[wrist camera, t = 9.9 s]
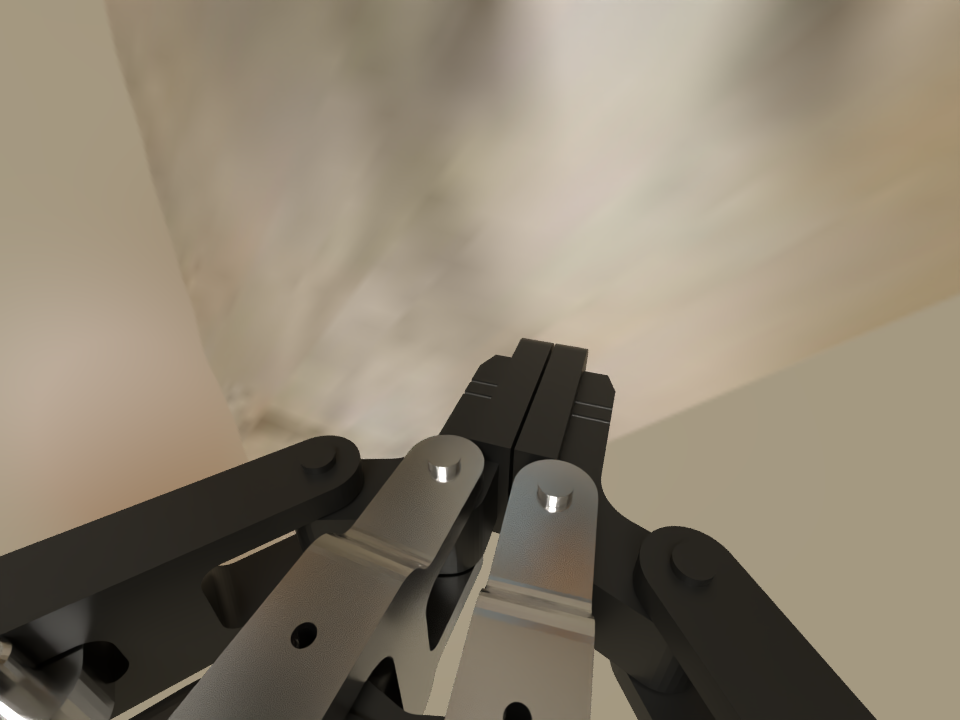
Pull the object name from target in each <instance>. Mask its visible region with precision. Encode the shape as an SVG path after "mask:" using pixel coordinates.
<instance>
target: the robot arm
mask: <svg viewBox="0 0 960 720" xmlns="http://www.w3.org/2000/svg"><path fill="white" fill-rule="evenodd" d="M587 357H588V349H584V348H578V347H573V346H567V345H561V344H555V346H554V343H549V342H543V341H538V340H532V339H526V338H522V339H521V340H520V342H519V344H518V346H517V348H516V350H515V352H514V354H513V356H512V358H511V357H505V356H500V355H495V356H493V357H492V358H490V359H489V360H487V361H486V362H484V363H483V364H481V365H480V366H479V368H478V370H477V372H476V373H475V375H474V377H473V378H472V382H470V383H469V385H468V387H467V388H466V390H465V394H463V395H462V397H461V398H460V400H459V402H458V403H457V405H456V407H455V409H454V410H453V412H452V414H451V415H450V417H449V419H448V420H447V422H446V424H445V425H444V427H443V429H442V430H441V432H440V434H439V435H438V436H433V437H429V438H427V439H424V440H422V441H421V442H419V443H417V444H416V445H415V446H414V447H413V448H412V449H411V450H410V451H409V452H408V454H407V455H406V456H405V457H403V458H396V459H361V458H360V453H359V450H358V448H357V447H356V445H355V444H354V443H353V442H351V441H350V440H348V439H346V438H343V437H339V436H319V437H314V438H311V439H308V440H305V441H303V442H300V443H297V444H295V445H292V446H289V447H287V448H284V449H282V450H279V451H276V452H274V453H271V454H268V455H266V456H263V457H260V458H258V459H255V460H253V461H250V462H247V463H245V464H242V465H239V466H237V467H235V468H232V469H229V470H226V471H224V472H221V473H218V474H216V475H213V476H211V477H208V478H205V479H203V480H200V481H197V482H195V483H192V484H189V485H187V486H184V487H182V488H179V489H176V490H174V491H171V492H169V493H166V494H163V495H160V496H158V497H155V498H153V499H150V500H148V501H145V502H142V503H140V504H137V505H134V506H132V507H129V508H126V509H124V510H121V511H118V512H116V513H113V514H111V515H108V516H105V517H103V518H100V519H97V520H95V521H92V522H90V523H87V524H84V525H82V526H79V527H76V528H74V529H71V530H69V531H66V532H63V533H61V534H58V535H55V536H53V537H50V538H47V539H45V540H42V541H40V542H37V543H34V544H32V545H29V546H26V547H24V548H21V549H18V550H16V551H13V552H11V553H8V554H5V555H3V556H0V720H110V719H112V718H114V717H116V716H118V715H120V714H121V713H123V712H125V711H127V710H129V709H131V708H132V707H134V706H136V705H138V704H140V703H142V702H143V701H145V700H147V699H149V698H151V697H153V696H154V695H156V694H158V693H160V692H162V691H163V690H165V689H167V688H169V687H171V686H173V685H175V684H176V683H178V682H180V681H182V680H184V679H186V678H188V677H189V676H191V675H193V674H195V673H197V672H199V671H200V670H202V669H204V668H206V667H208V666H209V665H211V664H213V665H212V666H211V667H210V668H209V670H208V671H207V672H206V673H205V674H204V676H203V677H202V678H200V679H198V680H196V681H195V682H193V683H191V684H189V685H187V686H185V687H184V688H182V689H180V690H178V691H177V692H175V693H173V694H172V695H170V696H168V697H167V698H165V699H163V700H161V701H160V702H158V703H156V704H155V705H153V706H151V707H149V708H148V709H146V710H144V711H143V712H141V713H139V714H137V715H136V716H134V717H132V718H131V719H129V720H590V715H591V714H590V713H591V696H592V677H593V660H594V659H593V658H594V649H595V650H597V651H598V652H600V653H601V654H602V655H604V656H605V657H606V658H608V659H609V660H610V663H611V667H612V670H613V672H614V675H615V677H616V679H617V681H618V683H619V684H620V686H621V688H622V690H623V692H624V694H625V696H626V698H627V700H628V702H629V703H630V705H631V707H632V709H633V711H634V713H635V715H636V717H637V719H638V720H876V718H875V717H874V716H873V715H872V714H871V713H870V712H869V710H868V709H867V708H866V707H865V706H864V705H863V704H862V702H861V701H860V700H859V699H858V698H857V697H856V696H855V694H854V693H853V692H852V691H851V690H850V689H849V688H848V686H847V685H846V684H845V683H844V682H843V681H842V680H841V678H840V677H839V676H838V675H837V674H836V673H835V672H834V671H833V669H832V668H831V667H830V666H829V665H828V664H827V663H826V661H825V660H824V659H823V658H822V657H821V656H820V655H819V653H818V652H817V651H816V650H815V649H814V648H813V647H812V645H811V644H810V643H809V642H808V641H807V640H806V639H805V637H804V636H803V635H802V634H801V633H800V632H799V631H798V630H797V628H796V627H795V626H794V625H793V624H792V623H791V622H790V620H789V619H788V618H787V617H786V616H785V615H784V614H783V612H782V611H781V610H780V609H779V608H778V607H777V606H776V604H775V603H774V602H773V601H772V600H771V599H770V598H769V597H768V595H767V594H766V593H765V592H764V591H763V590H762V589H761V587H760V586H758V584H757V583H756V582H755V581H754V579H753V578H752V577H751V576H750V575H749V574H748V573H747V571H746V570H745V569H744V568H743V567H742V566H741V565H740V564H739V562H737V560H736V559H735V558H734V557H733V556H732V554H731V553H729V551H728V550H727V549H726V548H725V547H723V546H722V545H721V544H720V543H719V542H717V541H716V540H714V539H713V538H711V537H710V536H708V535H706V534H704V533H702V532H700V531H697V530H694V529H691V528H686V527H680V526H669V527H663V528H659V529H657V530H655V531H653V532H652V533H651V532H649V531H647V530H646V529H644V528H642V527H640V526H639V525H637V524H635V523H633V522H631V521H630V520H628V519H627V518H625V517H624V516H622V515H621V514H620V513H619V512H617V511H616V510H615V508H613V506H612V505H611V504H610V503H609V501H608V500H607V498H606V496H605V495H604V492H603V489H602V485H601V474H602V468H603V462H604V456H605V450H606V444H607V438H608V432H609V426H610V420H611V414H612V408H613V402H614V396H615V390H614V388H613V385H612V383H611V381H610V379H609V377H608V375H602V374H597V373H591V372H586V371H585V370H586V364H587ZM294 530H295V531H296V534H295V535H293V536H291V537H288V538H286V539H284V540H282V541H280V542H278V543H275V544H273V545H271V546H269V547H267V548H265V549H263V550H260V551H258V552H256V553H254V554H252V555H250V556H248V557H246V558H243V559H241V560H239V561H237V562H235V563H232V564H229V565H224V566H218V565H220V564H222V563H224V562H226V561H229V560H231V559H233V558H235V557H237V556H239V555H242V554H244V553H246V552H248V551H250V550H252V549H255V548H257V547H259V546H261V545H263V544H265V543H268V542H269V541H272V540H274V539H276V538H278V537H281V536H283V535H285V534H287V533H289V532H291V531H294ZM492 531H493V532H496V533H499V534H500V536H499V540H498V544H497V547H496V551H495V555H494V559H493V563H492V567H491V571H490V575H489V579H488V582H487V585H486V587H485V589H482V590H481V591H480V593H479V596H478V598H477V601H476V604H475V608H474V611H473V615H472V619H471V622H470V626H469V630H468V633H467V637H466V641H465V645H464V648H463V652H462V656H461V660H460V663H459V667H458V671H457V674H456V678H455V682H454V686H453V690H452V693H451V697H450V701H449V705H448V708H447V712H446V715H445V717H443V716H430V715H423V713H424V710H425V708H426V705H427V702H428V699H429V696H430V693H431V690H432V685H433V681H434V676H435V672H436V668H437V665H438V662H439V660H440V657H441V655H442V652H443V650H444V648H445V646H446V644H447V641H448V639H449V637H450V635H451V633H452V631H453V628H454V626H455V624H456V622H457V620H458V618H459V615H460V613H461V611H462V609H463V607H464V604H465V602H466V600H467V598H468V595H469V594H470V591H471V589H472V587H473V585H474V583H475V580H476V578H477V576H478V574H479V572H480V570H481V567H482V563H483V554H484V552H485V549H486V547H487V544H488V541H489V539H490V536H491V533H492Z"/></svg>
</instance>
